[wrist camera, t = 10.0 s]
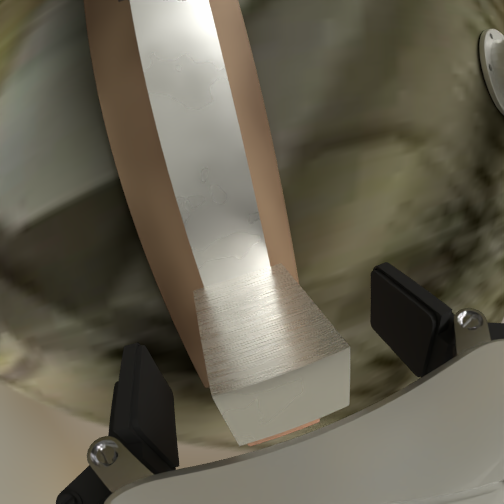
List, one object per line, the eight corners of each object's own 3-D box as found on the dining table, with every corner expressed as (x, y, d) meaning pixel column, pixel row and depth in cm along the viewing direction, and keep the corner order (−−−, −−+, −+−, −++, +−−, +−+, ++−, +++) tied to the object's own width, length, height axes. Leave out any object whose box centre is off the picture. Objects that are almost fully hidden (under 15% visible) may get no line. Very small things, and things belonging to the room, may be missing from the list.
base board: (194, -119, 8) (195, -128, 6) (303, 344, 27) (309, 353, 26) (86, -95, 6) (83, -103, 5) (203, 376, 26) (205, 388, 25)
